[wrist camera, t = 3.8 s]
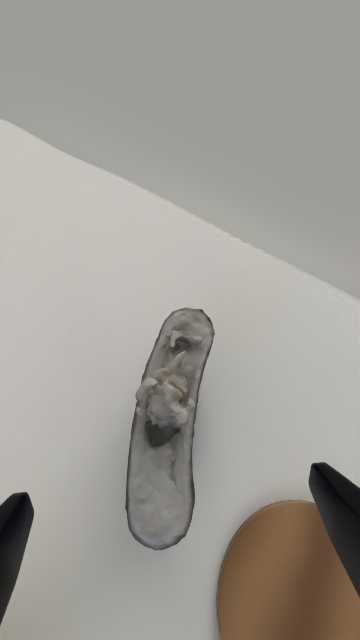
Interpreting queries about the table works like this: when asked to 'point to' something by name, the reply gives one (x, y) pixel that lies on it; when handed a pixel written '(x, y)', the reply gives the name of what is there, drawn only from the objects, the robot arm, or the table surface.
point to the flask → (167, 431)
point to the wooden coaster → (285, 580)
